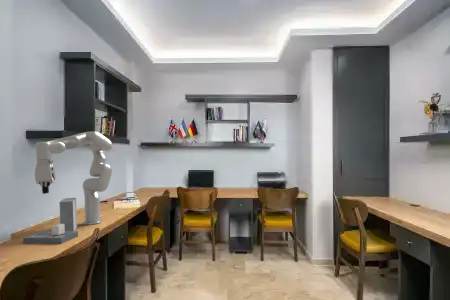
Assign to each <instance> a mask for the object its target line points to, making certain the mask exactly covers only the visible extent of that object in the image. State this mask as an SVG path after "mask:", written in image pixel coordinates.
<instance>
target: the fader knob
mask: <svg viewBox="0 0 450 300" xmlns="http://www.w3.org/2000/svg"><path fill="white" fill-rule="evenodd" d="M51 231H52V235H60V234H63V233H65V224H62V223H60V222H59V223H57V224H55V225H51Z"/></svg>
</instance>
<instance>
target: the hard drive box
mask: <svg viewBox="0 0 450 300" xmlns="http://www.w3.org/2000/svg"><path fill="white" fill-rule="evenodd" d="M60 223H62V224H65V231H77V228H78V214H77V197H69V198H68V197H67V198H62V200H60V201H59V224H60Z"/></svg>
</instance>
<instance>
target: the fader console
mask: <svg viewBox="0 0 450 300" xmlns="http://www.w3.org/2000/svg"><path fill="white" fill-rule="evenodd" d="M78 237H79V231H78V230H75V231H65V233H63V234H60V235H52V230H42V231H41V230H40V231H38V232H35V233H33V234H30V235H27V236H24V237H23V238H22V239H23V240H22V243H23V244H64V243H66V242H68V241H70V240H73V239H76V238H78Z"/></svg>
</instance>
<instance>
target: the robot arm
mask: <svg viewBox="0 0 450 300" xmlns="http://www.w3.org/2000/svg"><path fill="white" fill-rule="evenodd" d="M86 145H89V148H90V151H91V152H92V154H93V160H92V162H91V165H90V168H89V175H90V178H86V179H85V180H83V183H82V190H83V194H84V221H82V225H84V226H87V225H89V226H90V225H91V226H92V225H97V224H101V223H103V220H102V219H101V218H103V215H102V214H100V194H99V193H103V192H105V191H106V190H107V189H108V187H109V185H110V184H109V183H110V180H111V178H112V174H113V169H112V166H111V164H108V163H106V161H107V157H106V154H105V152H108V151H110V150H112V148H113V143H112V140H110V139H109V138H108V137H106V136H105V135H103V134H102V133H100V132H98V131H95V130H94V131H85V132H80V133H78V134H73V135H70V136H65V137H60V138H56V139H52V140H47V141H37V142H36V143H35V153H36V154H35V155H36V165H35V167H34V168H35V170H34V180H35V183H36V184H38V185H40V187H41V192H42V194H43V195H44V194H45V195H46V194H49V192H50V187H51V186H50V185H51V184H54V183H55V181H56V171H55V166H54V164H53V163H54V160H53V159H52V154H54V155H55V154H56V155H57V154H63V153H64V152H65V151H66V150H72V149H78V148H81V147H84V146H86ZM92 177H93V178H92Z"/></svg>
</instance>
